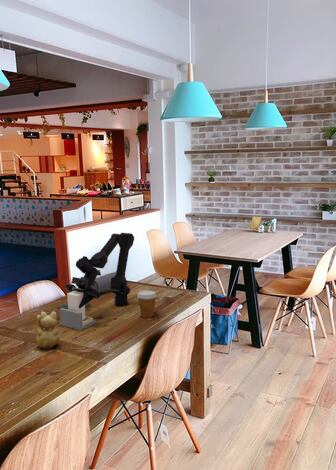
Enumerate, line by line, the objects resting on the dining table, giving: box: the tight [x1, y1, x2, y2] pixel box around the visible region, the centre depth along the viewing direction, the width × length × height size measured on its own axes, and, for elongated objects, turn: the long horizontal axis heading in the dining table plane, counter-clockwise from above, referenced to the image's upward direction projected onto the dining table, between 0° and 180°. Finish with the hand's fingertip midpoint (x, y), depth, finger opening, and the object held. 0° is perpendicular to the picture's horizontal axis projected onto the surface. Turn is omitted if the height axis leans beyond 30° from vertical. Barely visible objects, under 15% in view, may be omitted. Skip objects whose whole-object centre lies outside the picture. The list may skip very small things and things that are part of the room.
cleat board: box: [59, 308, 97, 331], centre depth 203 cm, size 11×13×8 cm
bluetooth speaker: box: [91, 271, 116, 294], centre depth 256 cm, size 23×9×10 cm, turn 145°
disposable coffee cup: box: [136, 289, 157, 318], centre depth 213 cm, size 10×10×12 cm
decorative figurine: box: [35, 311, 61, 350], centre depth 177 cm, size 10×8×15 cm
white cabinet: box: [66, 291, 86, 320], centre depth 202 cm, size 6×6×13 cm
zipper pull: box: [56, 301, 91, 310], centre depth 220 cm, size 9×7×25 cm
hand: (74, 306), depth 200 cm, fingers closed on white cabinet, 6 cm apart
